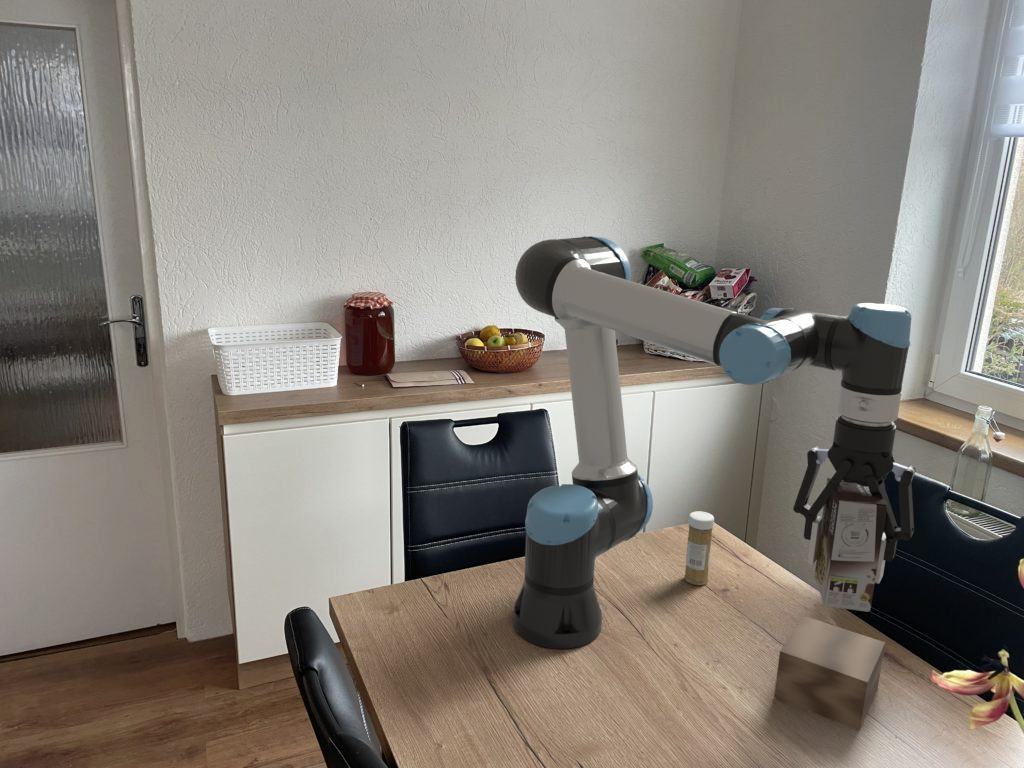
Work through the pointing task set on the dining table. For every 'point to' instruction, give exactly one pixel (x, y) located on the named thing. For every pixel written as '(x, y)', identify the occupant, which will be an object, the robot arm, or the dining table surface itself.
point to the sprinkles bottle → (698, 547)
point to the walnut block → (829, 671)
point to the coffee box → (850, 546)
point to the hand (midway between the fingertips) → (844, 569)
